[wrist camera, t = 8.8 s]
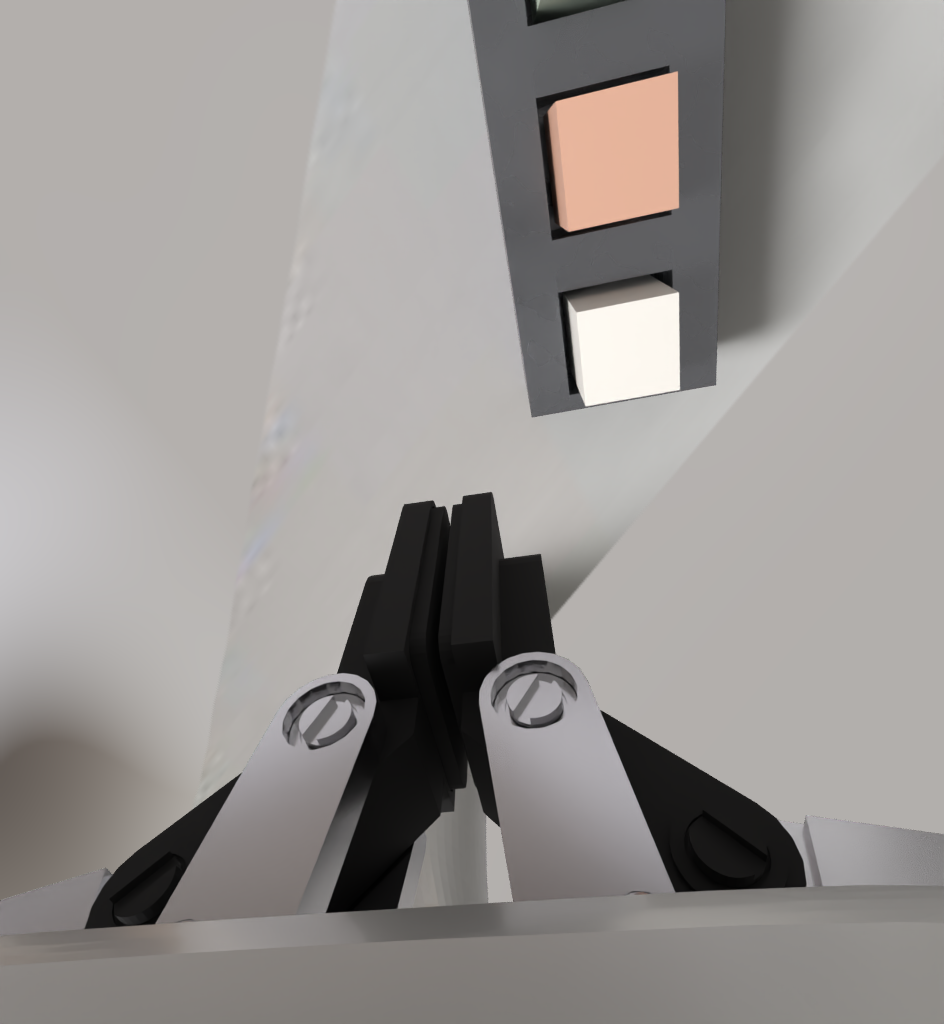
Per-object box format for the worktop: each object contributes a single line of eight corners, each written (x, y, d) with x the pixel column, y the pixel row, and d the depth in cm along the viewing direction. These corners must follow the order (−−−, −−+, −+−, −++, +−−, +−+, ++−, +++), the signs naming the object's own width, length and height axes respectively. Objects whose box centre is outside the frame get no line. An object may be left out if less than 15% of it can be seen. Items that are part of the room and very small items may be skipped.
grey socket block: (682, 354, 35) (715, 384, 30) (526, 383, 36) (531, 417, 31) (679, -178, 24) (732, -278, 18) (450, -109, 25) (440, -185, 20)
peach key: (644, 202, 28) (679, 207, 23) (554, 222, 29) (568, 231, 24) (640, 92, 26) (677, 71, 21) (542, 116, 27) (555, 101, 21)
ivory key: (649, 356, 32) (679, 389, 27) (570, 371, 33) (585, 406, 28) (646, 273, 30) (678, 292, 25) (561, 290, 31) (576, 312, 26)
